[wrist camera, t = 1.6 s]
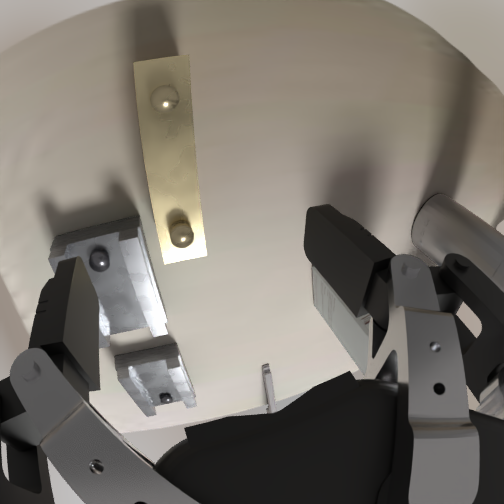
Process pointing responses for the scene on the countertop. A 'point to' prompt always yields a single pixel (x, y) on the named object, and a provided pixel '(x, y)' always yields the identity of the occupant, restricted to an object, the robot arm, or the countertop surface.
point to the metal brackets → (129, 308)
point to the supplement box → (342, 321)
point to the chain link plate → (170, 154)
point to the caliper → (269, 389)
